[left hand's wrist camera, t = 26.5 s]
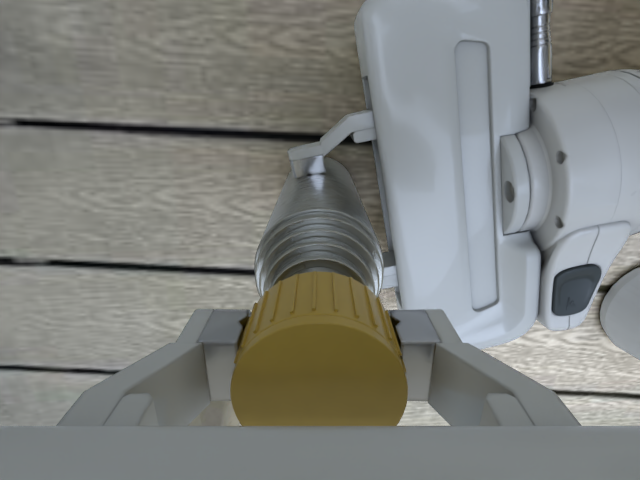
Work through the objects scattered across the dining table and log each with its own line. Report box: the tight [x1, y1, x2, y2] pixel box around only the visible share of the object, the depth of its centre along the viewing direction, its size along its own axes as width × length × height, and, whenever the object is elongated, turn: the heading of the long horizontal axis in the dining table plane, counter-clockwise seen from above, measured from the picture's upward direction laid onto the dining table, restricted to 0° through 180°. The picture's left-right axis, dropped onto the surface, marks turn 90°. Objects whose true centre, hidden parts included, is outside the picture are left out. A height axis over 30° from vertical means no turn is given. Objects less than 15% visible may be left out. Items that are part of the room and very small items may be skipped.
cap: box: [230, 271, 408, 426], centre depth 9 cm, size 4×4×2 cm
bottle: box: [254, 157, 384, 297], centre depth 18 cm, size 5×5×19 cm
